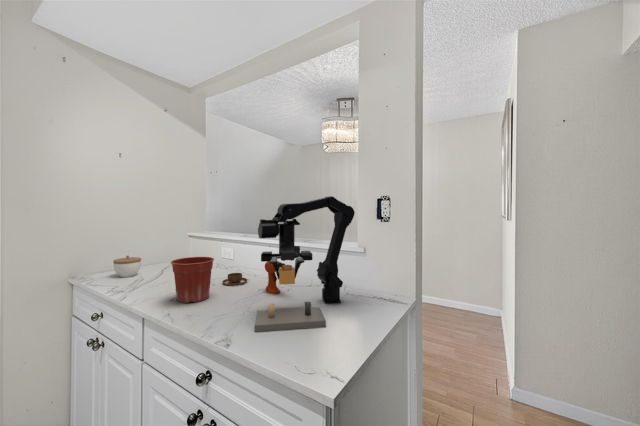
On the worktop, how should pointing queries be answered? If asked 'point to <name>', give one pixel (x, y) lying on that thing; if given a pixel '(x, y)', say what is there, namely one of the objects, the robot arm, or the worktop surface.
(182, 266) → the flower pot
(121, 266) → the lidded bowl
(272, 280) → the toy drill
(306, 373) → the worktop surface
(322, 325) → the grey peg board
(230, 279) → the brown cup and saucer
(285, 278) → the orange knobbed cube
